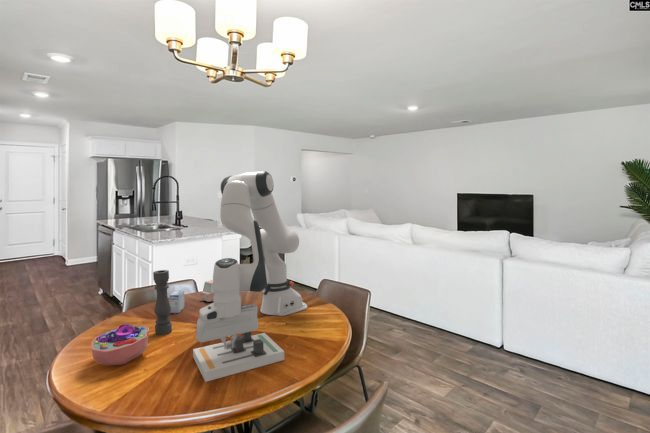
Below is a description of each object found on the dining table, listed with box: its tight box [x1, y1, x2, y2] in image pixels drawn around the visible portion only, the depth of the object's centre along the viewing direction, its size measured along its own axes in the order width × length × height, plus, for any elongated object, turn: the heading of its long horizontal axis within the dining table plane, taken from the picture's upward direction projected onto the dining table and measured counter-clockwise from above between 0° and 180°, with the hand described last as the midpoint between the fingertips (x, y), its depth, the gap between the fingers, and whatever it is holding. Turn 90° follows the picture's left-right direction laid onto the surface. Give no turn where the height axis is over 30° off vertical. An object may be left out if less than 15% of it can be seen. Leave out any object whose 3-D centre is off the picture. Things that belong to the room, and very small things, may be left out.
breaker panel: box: [192, 332, 285, 383], centre depth 120 cm, size 26×18×3 cm
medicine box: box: [168, 290, 185, 314], centre depth 168 cm, size 8×4×9 cm, turn 5°
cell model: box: [90, 323, 150, 367], centre depth 119 cm, size 17×20×11 cm
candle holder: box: [152, 269, 173, 336], centre depth 141 cm, size 6×6×25 cm
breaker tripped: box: [231, 335, 246, 353], centre depth 119 cm, size 4×4×4 cm
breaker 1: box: [241, 331, 254, 343], centre depth 127 cm, size 4×4×4 cm
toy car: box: [200, 279, 215, 303], centre depth 186 cm, size 9×15×10 cm, turn 141°
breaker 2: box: [251, 339, 266, 357], centre depth 117 cm, size 4×4×4 cm
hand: (228, 348), depth 118 cm, fingers closed
